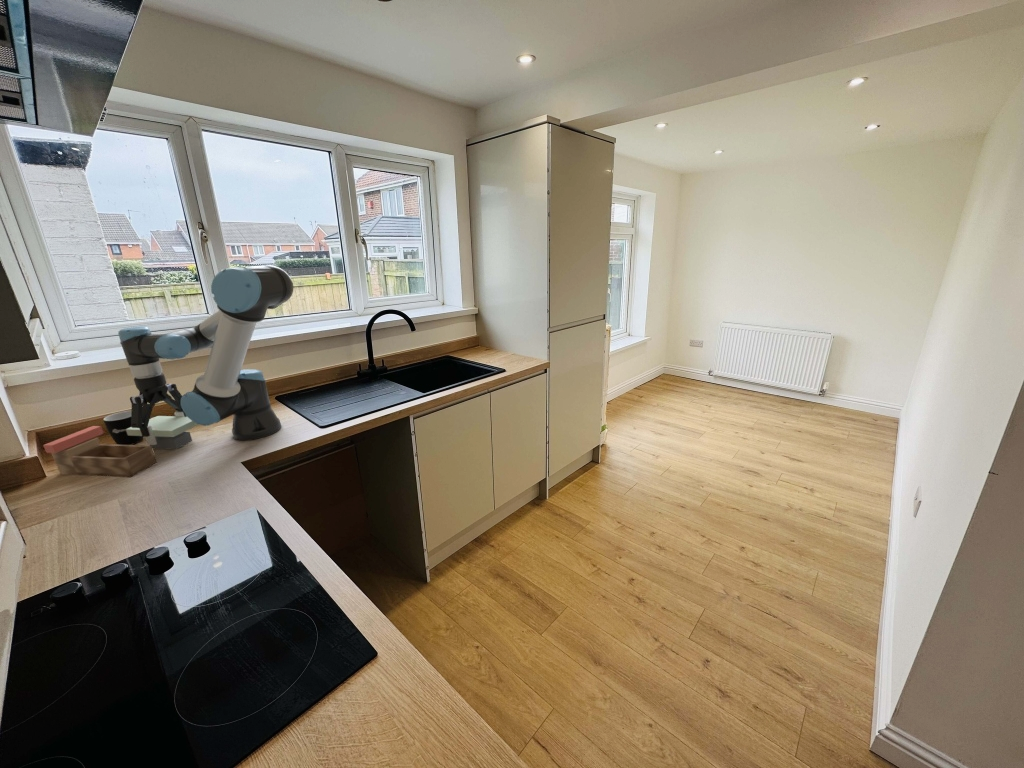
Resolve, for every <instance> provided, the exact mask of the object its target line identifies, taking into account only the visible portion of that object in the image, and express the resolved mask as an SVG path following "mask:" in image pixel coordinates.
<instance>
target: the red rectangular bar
mask: <svg viewBox="0 0 1024 768" xmlns="http://www.w3.org/2000/svg"><path fill="white" fill-rule="evenodd" d="M103 434H104V430H103V428H102V426H101V425H92V426H89V427H86V428H84V429H81V430H78V431H76V432H73V433H71V434H68V435H66V436H63V437H61V438H58V439H55V440H53V441H50V442H48V443H45V444H43V445H42V447H43V448H44V450H45V452H46V453H47V454H51V453H57V452H60V451H62V450H65V449H67V448H69V447H72V446H74V445H77V444H79V443H82V442H84V441H86V440H89V439H91V438H97V437H99V436H101V435H103Z"/></svg>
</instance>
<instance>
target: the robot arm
mask: <svg viewBox="0 0 1024 768" xmlns="http://www.w3.org/2000/svg"><path fill="white" fill-rule="evenodd" d="M210 287H211V288H210V291H211V294H212V295H213V296H212V299H213V301H214V302H215V304H216V307H217V309H218V310H217V311H216V312H214V313H213V314H212V315H210V316H209V317H207V318H206V319H204V320H203V321H202V322H200V323H199V324H197V325H196V326H194V327H191V328H187V329H180V330H177V331H172V332H168V333H162V334H161V333H159V334H156V333H155V334H153V333H152V331H151V330H150V328H149V327H147V326H134V327H132V326H131V327H125V328H121V329H119V331H118V337H119V340H120V342H119V344H120V345H121V347H122V350H123V353H124V356H125V358H126V361H127V363H128V366H129V370H130V373H131V376H132V377H133V382H134V385H135V387H136V390H138V393H139V395H136V396H130V397H129V400H130V403H131V410H130V411H131V427H132V428H140V431H141V434H142V436H143V438H145V441H146V445H147V446H150V445H156V444H157V442H156V439H155V436H154V434H153V431H152V428H151V426H148V423H149V420H150V418H151V415H152V412H153V408H154V407H155V405H156V404H158V403H160V402H165V404H167V405H169V406H170V407H171V408H172V409H174V410H175V411H174V416H178V417H188V418H189V419H191V420H192V421H193V422H195V423H197V424H199V426H211V425H213V424H217V423H219V422H220V421H223V420H226V419H227V418H229V417H231V416H233V419H232V428H231V433H232V437H233V439H235V440H238V441H249V440H250V441H251V440H257V439H261V438H264V437H267V436H270V435H272V434H274V433H277V432H278V431H279V430H281V427H282V423H281V420H280V418H279V417H278V416H277V415H276V414H277V413H275V411H274V409H273V408H272V405H271V400H270V396H269V393H268V388H267V383H266V379H265V376H264V374H263V371H262V370H259V369H255V368H254V369H252V368H250V369H242V368H243V364H244V361H245V358H246V356H247V352H248V349H249V346H250V343H251V339H252V337H253V334H254V331H255V328H256V325H257V323H260V322H263V321H264V320H265V316H266V314H267V312H268V310H274V309H276V308H278V307H280V306H281V305H283V304H284V303H286V302H288V301H289V300H290V299H291V297H292V296H293V293H294V282H293V280H292V278H291V276H290V275H289V274H288V273H287V271H285V269H282V268H280V267H278V266H275V265H270V264H265V265H256V266H255V265H254V266H252V265H251V266H232V267H227V268H224V269H221V270H220V271H219V272H217V273H216V275H214V277H213V279H212V282H211V285H210ZM210 348H211V349H210ZM204 349H210V353H209V356H208V360H207V363H206V368H205V370H204V374H202V375H199V376H198V377H197V378H196V380H195V383H194V386H193V389H192V390H191V391H188V392H185V393H184V394H183V395H182V393H180V390H178V387H177V385H176V383H167V380H166V377H165V374H164V373H163V372H164V370H163V367H162V364H161V362H160V359H163V360H164V359H165V360H166V359H167V360H176V359H183V358H185V357H187V355H188V354H190V353H193V352H197V351H198V352H199V351H201V350H204ZM168 393H169V394H168Z"/></svg>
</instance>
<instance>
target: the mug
mask: <svg viewBox="0 0 1024 768" xmlns="http://www.w3.org/2000/svg"><path fill="white" fill-rule="evenodd" d="M151 418H152V417H150V419H151ZM103 423H104V425H105V427H106V429H107V431H108V433H109V435H110V436H111V438H112V439H113V441H114V443H115V444H116V445H136V444H137V443H139V442H141V441H143V439H144V437H143V436H131V435H128V434H127V432H126V429H128V428H130V427H131V410H125V411H120V412H117V413H116V412H115V413H113V414H109V415H107V416H105V417H104V418H103Z"/></svg>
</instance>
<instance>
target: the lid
mask: <svg viewBox="0 0 1024 768" xmlns="http://www.w3.org/2000/svg"><path fill="white" fill-rule="evenodd" d="M150 418H151V419H150V420H149V423H148V426H151V428H152V431H153V434H154V436H159V437H175V436H177V435H179V434H181V433H183V432H188V431H189V430H191V429H192V428H195V427H197V426H198V425H199V424H197V423H195V422H193V421H192V420H191V419H189V418H188V417H187V416H186V417H178V416H175V415H174V416H173V415H172V416H171V415H168V416H167V415H157V416H155V417H150ZM199 426H200V425H199ZM126 432H127V434H128V435H131V436H142V434H141V431H140V428H132V427H130V428H128V429H126Z"/></svg>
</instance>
